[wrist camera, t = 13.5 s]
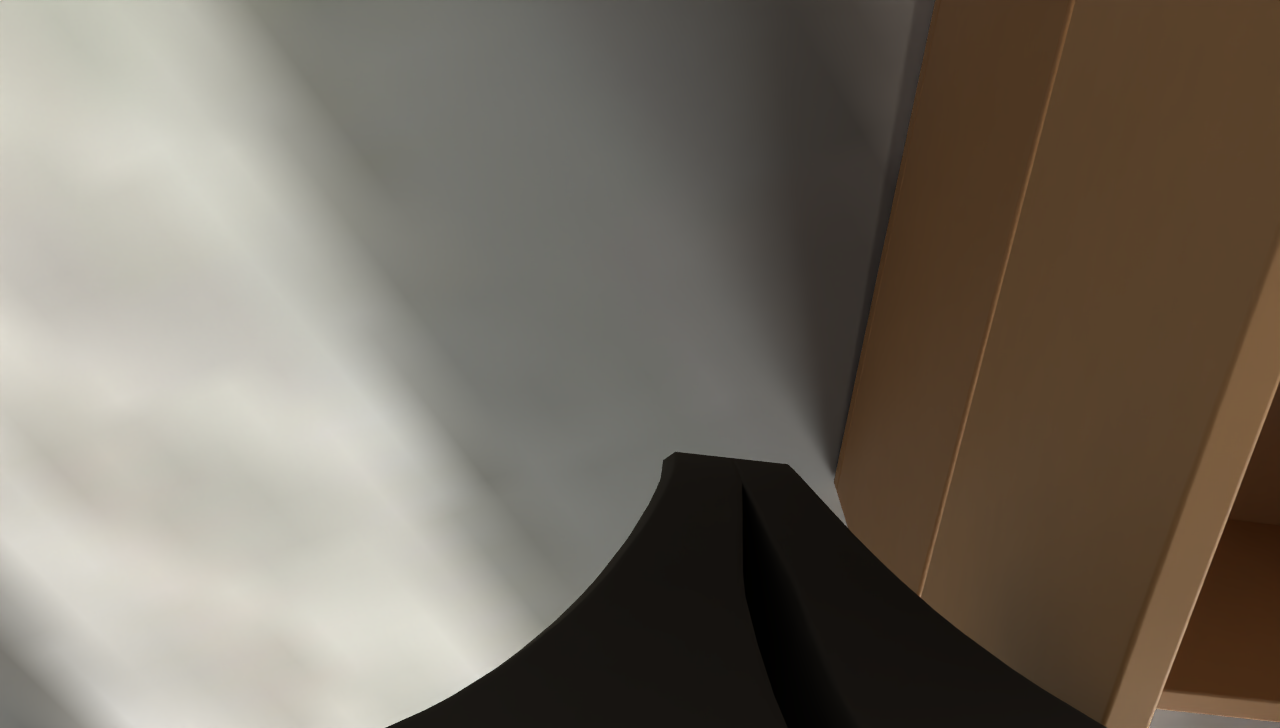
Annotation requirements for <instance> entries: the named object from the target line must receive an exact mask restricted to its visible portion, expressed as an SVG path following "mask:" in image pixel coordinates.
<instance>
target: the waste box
mask: <svg viewBox="0 0 1280 728" xmlns="http://www.w3.org/2000/svg"><path fill="white" fill-rule="evenodd" d="M1074 4H1075V0H935V4H934V9H933V13H932V18H931V23H930V28H929V32H928V37H927V42H926V47H925V51H924V56H923V61H922V66H921V70H920V75H919V80H918V85H917V89H916V94H915V99H914V104H913V108H912V113H911V118H910V123H909V127H908V132H907V137H906V142H905V146H904V151H903V156H902V161H901V165H900V170H899V175H898V180H897V184H896V189H895V194H894V199H893V203H892V208H891V213H890V218H889V222H888V227H887V232H886V237H885V241H884V246H883V251H882V256H881V260H880V265H879V270H878V275H877V279H876V284H875V289H874V294H873V298H872V303H871V308H870V313H869V317H868V322H867V327H866V332H865V336H864V341H863V346H862V351H861V355H860V360H859V365H858V370H857V374H856V379H855V384H854V389H853V393H852V398H851V403H850V408H849V412H848V417H847V422H846V427H845V431H844V436H843V441H842V446H841V450H840V455H839V460H838V465H837V469H836V474H835V479H834V484H835V487H836V490H837V493H838V497H839V500H840V503H841V506H842V510H843V513H844V516H845V519H846V523H847V526H848V529H849V530H850V531H851V532H852V533H853V534H854V535H855V536H856V537H857V538H858V539H859V540H860V541H861V542H862V543H863V544H864V545H865V546H866V547H867V548H868V549H869V550H870V551H871V552H872V553H873V554H874V555H875V556H876V557H877V558H878V559H879V560H880V561H881V562H882V563H883V564H884V565H885V566H886V567H887V568H888V569H889V570H890V571H891V572H893V573H894V574H895V575H896V576H897V577H898V578H899V579H900V580H901V581H902V582H903V583H905V584H906V585H907V586H908V587H909V588H910V589H911V590H913V591H914V592H915V593H916V594H917V595H918V596H919V597H920V598H921V595H922V592H923V588H924V584H925V580H926V576H927V572H928V568H929V565H930V561H931V557H932V553H933V549H934V545H935V541H936V537H937V534H938V530H939V526H940V522H941V518H942V514H943V510H944V507H945V503H946V499H947V495H948V491H949V487H950V483H951V479H952V476H953V472H954V468H955V464H956V460H957V456H958V452H959V449H960V445H961V441H962V437H963V433H964V429H965V425H966V421H967V418H968V414H969V410H970V406H971V402H972V398H973V394H974V391H975V387H976V383H977V379H978V375H979V371H980V367H981V363H982V360H983V356H984V352H985V348H986V344H987V340H988V336H989V333H990V329H991V325H992V321H993V317H994V313H995V309H996V305H997V302H998V298H999V294H1000V290H1001V286H1002V282H1003V278H1004V274H1005V271H1006V267H1007V263H1008V259H1009V255H1010V251H1011V247H1012V244H1013V240H1014V236H1015V232H1016V228H1017V224H1018V220H1019V216H1020V213H1021V209H1022V205H1023V201H1024V197H1025V193H1026V189H1027V186H1028V182H1029V178H1030V174H1031V170H1032V166H1033V162H1034V158H1035V155H1036V151H1037V147H1038V143H1039V139H1040V135H1041V131H1042V128H1043V124H1044V120H1045V116H1046V112H1047V108H1048V104H1049V100H1050V97H1051V93H1052V89H1053V85H1054V81H1055V77H1056V73H1057V70H1058V66H1059V62H1060V58H1061V54H1062V50H1063V46H1064V42H1065V39H1066V35H1067V31H1068V27H1069V23H1070V19H1071V15H1072V11H1073V8H1074ZM1156 709H1162V710H1171V711H1180V712H1189V713H1199V714H1208V715H1217V716H1227V717H1236V718H1245V719H1254V720H1264V721H1273V722H1280V382H1279V384H1278V387H1277V390H1276V392H1275V395H1274V398H1273V400H1272V403H1271V406H1270V408H1269V411H1268V414H1267V416H1266V419H1265V421H1264V424H1263V427H1262V429H1261V432H1260V435H1259V437H1258V440H1257V443H1256V445H1255V448H1254V451H1253V453H1252V456H1251V459H1250V461H1249V464H1248V466H1247V469H1246V472H1245V474H1244V477H1243V480H1242V482H1241V485H1240V488H1239V490H1238V493H1237V496H1236V498H1235V501H1234V504H1233V506H1232V509H1231V511H1230V514H1229V517H1228V519H1227V522H1226V525H1225V527H1224V530H1223V533H1222V535H1221V538H1220V541H1219V543H1218V546H1217V548H1216V551H1215V554H1214V556H1213V559H1212V562H1211V564H1210V567H1209V570H1208V572H1207V575H1206V578H1205V580H1204V583H1203V586H1202V588H1201V591H1200V593H1199V596H1198V599H1197V601H1196V604H1195V607H1194V609H1193V612H1192V615H1191V617H1190V620H1189V623H1188V625H1187V628H1186V630H1185V633H1184V636H1183V638H1182V641H1181V644H1180V646H1179V649H1178V652H1177V654H1176V657H1175V660H1174V662H1173V665H1172V668H1171V670H1170V673H1169V675H1168V678H1167V681H1166V683H1165V686H1164V689H1163V691H1162V694H1161V697H1160V699H1159V702H1158V705H1157V707H1156Z"/></svg>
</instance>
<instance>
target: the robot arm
mask: <svg viewBox="0 0 1280 728" xmlns="http://www.w3.org/2000/svg"><path fill="white" fill-rule="evenodd" d="M386 728H1107V727H1105V726H1104V725H1102V724H1100V723H1098V722H1097V721H1095V720H1093V719H1092V718H1090V717H1088V716H1087V715H1085V714H1084V713H1082V712H1080V711H1079V710H1077V709H1075V708H1074V707H1072V706H1070V705H1069V704H1067V703H1065V702H1064V701H1062V700H1060V699H1059V698H1057V697H1055V696H1054V695H1052V694H1050V693H1049V692H1047V691H1046V690H1044V689H1042V688H1041V687H1039V686H1038V685H1036V684H1035V683H1033V682H1032V681H1030V680H1029V679H1027V678H1026V677H1024V676H1023V675H1021V674H1019V673H1018V672H1016V671H1015V670H1013V669H1012V668H1011V667H1009V666H1008V665H1006V664H1005V663H1004V662H1002V661H1001V660H1000V659H998V658H997V657H995V656H994V655H993V654H991V653H990V652H989V651H987V650H986V649H985V648H983V647H982V646H980V645H979V644H978V643H976V642H975V641H974V640H972V639H971V638H969V637H968V636H967V635H965V634H964V633H963V632H961V631H960V630H959V629H957V628H956V627H955V626H954V625H952V624H951V623H950V622H949V621H947V620H946V619H945V618H944V617H943V616H941V615H940V614H939V613H938V612H936V611H935V610H934V609H933V608H932V607H931V606H930V605H928V604H927V603H926V602H925V601H924V600H923V599H922V598H920V597H919V596H918V595H917V594H916V593H915V592H914V591H913V590H911V589H910V588H909V587H908V586H907V585H906V584H905V583H903V582H902V581H901V580H900V579H899V578H898V577H897V576H896V575H895V574H894V573H893V572H891V571H890V570H889V569H888V568H887V567H886V566H885V565H884V564H883V563H882V562H881V561H880V560H879V559H878V558H877V557H876V556H875V555H874V554H873V553H872V552H871V551H870V550H869V549H868V548H867V547H866V546H865V545H864V544H863V543H862V542H861V541H860V540H859V539H858V538H857V537H856V536H855V535H854V534H853V533H852V532H851V531H850V530H849V529H848V528H847V527H846V526H845V525H844V523H843V522H842V521H841V520H840V519H839V518H838V517H837V516H836V515H835V514H834V513H833V512H832V511H831V510H830V508H829V507H828V506H827V505H826V504H825V503H824V502H823V501H822V500H821V499H820V498H819V496H818V495H817V494H816V493H815V492H814V491H813V490H812V489H811V488H810V487H809V486H808V484H807V483H806V482H805V481H804V480H803V479H802V478H801V477H800V476H799V475H798V474H797V473H796V472H795V471H794V470H793V469H792V468H791V467H790V466H789V465H788V464H780V463H771V462H762V461H753V460H744V459H735V458H726V457H717V456H708V455H699V454H690V453H681V452H674V453H673V454H672V455H670V456H669V457H667V458H666V459H664V460H663V466H662V473H661V479H660V482H659V484H658V486H657V489H656V491H655V493H654V495H653V497H652V499H651V501H650V503H649V505H648V507H647V508H646V510H645V511H644V513H643V515H642V516H641V518H640V520H639V521H638V523H637V524H636V526H635V528H634V529H633V531H632V533H631V534H630V536H629V537H628V539H627V540H626V541H625V543H624V544H623V545H622V547H621V548H620V549H619V550H618V552H617V553H616V554H615V556H614V557H613V558H612V560H611V561H610V562H609V563H608V565H607V566H606V567H605V569H604V570H603V571H602V572H601V574H600V575H599V576H598V577H597V578H596V580H595V581H594V582H593V583H592V584H591V585H590V586H589V587H588V588H587V590H586V591H585V592H584V593H583V594H582V595H581V596H580V597H579V598H578V599H577V600H576V601H575V602H574V603H573V604H572V605H571V606H570V607H569V608H568V609H567V610H566V611H565V612H564V613H563V614H562V615H561V616H560V617H559V618H558V619H557V620H556V621H554V622H553V623H552V624H551V625H550V626H549V627H548V628H546V629H545V630H544V631H543V632H542V633H540V634H539V635H538V636H537V637H536V638H534V639H533V640H532V641H531V642H530V643H528V644H527V645H526V646H525V647H524V648H522V649H521V650H520V651H519V652H517V653H516V654H515V655H513V656H512V657H511V658H509V659H508V660H507V661H505V662H504V663H503V664H501V665H500V666H498V667H497V668H496V669H494V670H493V671H491V672H490V673H488V674H486V675H485V676H483V677H482V678H480V679H478V680H477V681H475V682H474V683H472V684H470V685H469V686H467V687H466V688H464V689H462V690H461V691H459V692H458V693H456V694H454V695H453V696H451V697H449V698H447V699H446V700H444V701H442V702H440V703H438V704H436V705H434V706H432V707H430V708H428V709H426V710H424V711H422V712H420V713H417V714H415V715H413V716H411V717H409V718H406V719H404V720H402V721H400V722H397V723H395V724H393V725H391V726H388V727H386Z"/></svg>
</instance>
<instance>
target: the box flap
mask: <svg viewBox="0 0 1280 728" xmlns="http://www.w3.org/2000/svg"><path fill="white" fill-rule="evenodd" d="M1279 382H1280V0H1075V4H1074V8H1073V11H1072V15H1071V19H1070V23H1069V27H1068V31H1067V35H1066V39H1065V42H1064V46H1063V50H1062V54H1061V58H1060V62H1059V66H1058V70H1057V73H1056V77H1055V81H1054V85H1053V89H1052V93H1051V97H1050V100H1049V104H1048V108H1047V112H1046V116H1045V120H1044V124H1043V128H1042V131H1041V135H1040V139H1039V143H1038V147H1037V151H1036V155H1035V158H1034V162H1033V166H1032V170H1031V174H1030V178H1029V182H1028V186H1027V189H1026V193H1025V197H1024V201H1023V205H1022V209H1021V213H1020V216H1019V220H1018V224H1017V228H1016V232H1015V236H1014V240H1013V244H1012V247H1011V251H1010V255H1009V259H1008V263H1007V267H1006V271H1005V274H1004V278H1003V282H1002V286H1001V290H1000V294H999V298H998V302H997V305H996V309H995V313H994V317H993V321H992V325H991V329H990V333H989V336H988V340H987V344H986V348H985V352H984V356H983V360H982V363H981V367H980V371H979V375H978V379H977V383H976V387H975V391H974V394H973V398H972V402H971V406H970V410H969V414H968V418H967V421H966V425H965V429H964V433H963V437H962V441H961V445H960V449H959V452H958V456H957V460H956V464H955V468H954V472H953V476H952V479H951V483H950V487H949V491H948V495H947V499H946V503H945V507H944V510H943V514H942V518H941V522H940V526H939V530H938V534H937V537H936V541H935V545H934V549H933V553H932V557H931V561H930V565H929V568H928V572H927V576H926V580H925V584H924V588H923V592H922V595H921V598H922V599H923V600H924V601H925V602H926V603H927V604H928V605H930V606H931V607H932V608H933V609H934V610H935V611H936V612H938V613H939V614H940V615H941V616H943V617H944V618H945V619H946V620H947V621H949V622H950V623H951V624H952V625H954V626H955V627H956V628H957V629H959V630H960V631H961V632H963V633H964V634H965V635H967V636H968V637H969V638H971V639H972V640H974V641H975V642H976V643H978V644H979V645H980V646H982V647H983V648H985V649H986V650H987V651H989V652H990V653H991V654H993V655H994V656H995V657H997V658H998V659H1000V660H1001V661H1002V662H1004V663H1005V664H1006V665H1008V666H1009V667H1011V668H1012V669H1013V670H1015V671H1016V672H1018V673H1019V674H1021V675H1023V676H1024V677H1026V678H1027V679H1029V680H1030V681H1032V682H1033V683H1035V684H1036V685H1038V686H1039V687H1041V688H1042V689H1044V690H1046V691H1047V692H1049V693H1050V694H1052V695H1054V696H1055V697H1057V698H1059V699H1060V700H1062V701H1064V702H1065V703H1067V704H1069V705H1070V706H1072V707H1074V708H1075V709H1077V710H1079V711H1080V712H1082V713H1084V714H1085V715H1087V716H1088V717H1090V718H1092V719H1093V720H1095V721H1097V722H1098V723H1100V724H1102V725H1104V726H1105V727H1107V728H1149V726H1150V723H1151V720H1152V718H1153V715H1154V712H1155V710H1156V707H1157V705H1158V702H1159V699H1160V697H1161V694H1162V691H1163V689H1164V686H1165V683H1166V681H1167V678H1168V675H1169V673H1170V670H1171V668H1172V665H1173V662H1174V660H1175V657H1176V654H1177V652H1178V649H1179V646H1180V644H1181V641H1182V638H1183V636H1184V633H1185V630H1186V628H1187V625H1188V623H1189V620H1190V617H1191V615H1192V612H1193V609H1194V607H1195V604H1196V601H1197V599H1198V596H1199V593H1200V591H1201V588H1202V586H1203V583H1204V580H1205V578H1206V575H1207V572H1208V570H1209V567H1210V564H1211V562H1212V559H1213V556H1214V554H1215V551H1216V548H1217V546H1218V543H1219V541H1220V538H1221V535H1222V533H1223V530H1224V527H1225V525H1226V522H1227V519H1228V517H1229V514H1230V511H1231V509H1232V506H1233V504H1234V501H1235V498H1236V496H1237V493H1238V490H1239V488H1240V485H1241V482H1242V480H1243V477H1244V474H1245V472H1246V469H1247V466H1248V464H1249V461H1250V459H1251V456H1252V453H1253V451H1254V448H1255V445H1256V443H1257V440H1258V437H1259V435H1260V432H1261V429H1262V427H1263V424H1264V421H1265V419H1266V416H1267V414H1268V411H1269V408H1270V406H1271V403H1272V400H1273V398H1274V395H1275V392H1276V390H1277V387H1278V384H1279Z"/></svg>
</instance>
